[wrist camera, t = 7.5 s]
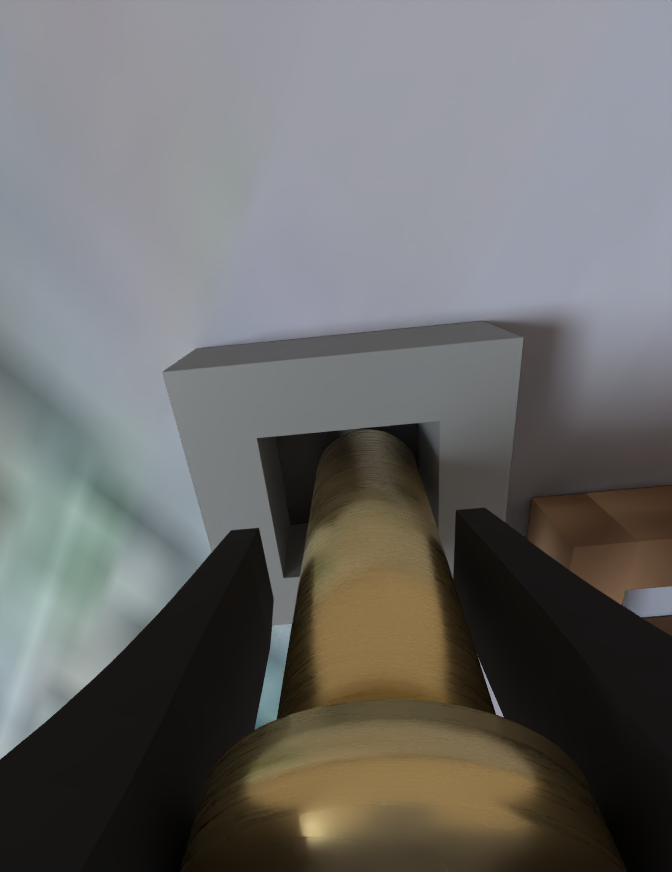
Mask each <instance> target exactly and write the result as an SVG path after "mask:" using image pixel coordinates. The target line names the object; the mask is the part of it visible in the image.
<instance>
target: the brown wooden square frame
mask: <svg viewBox="0 0 672 872" xmlns="http://www.w3.org/2000/svg"><path fill="white" fill-rule="evenodd" d="M527 540H529V541H530V542H531V543H533V544H534V545H535V546H537V547H538V548H540V549H541V550H542V551H544V552H545V553H546V554H548V555H549V556H550V557H552V558H553V559H555V560H556V561H557V562H559V563H560V564H562V565H563V566H564V567H566V568H567V569H569V570H570V571H571V572H573V573H574V574H576V575H577V576H579V577H580V578H581V579H583V580H584V581H586V582H587V583H589V584H590V585H592V586H593V587H595V588H596V589H598V590H599V591H601V592H602V593H604V594H605V595H607V596H608V597H610V598H612V599H613V600H615V601H616V602H618V603H619V604H621V605H622V602H623V599H624V595H625V591H626V590H632V589H644V588H656V587H667V586H672V485H671V486H660V487H649V488H638V489H627V490H616V491H605V492H594V493H583V494H571V495H560V496H549V497H538V498H532V501H531V509H530V516H529V524H528V532H527ZM643 619H644V620H646V621H648V622H649V623H651V624H653V625H654V626H656V627H657V628H659V629H661V630H662V631H664V632H666V633H668V634H669V635H671V636H672V616H665V617H653V618H643Z"/></svg>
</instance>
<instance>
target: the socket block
mask: <svg viewBox="0 0 672 872" xmlns="http://www.w3.org/2000/svg"><path fill="white" fill-rule="evenodd" d="M523 339H524V337H522V336H519V335H517V334H514V333H512V332H509V331H507V330H504V329H502V328H499V327H497V326H494V325H492V324H489V323H487V322H484V321H476V322H466V323H455V324H445V325H435V326H425V327H414V328H404V329H394V330H384V331H373V332H363V333H353V334H343V335H332V336H322V337H312V338H302V339H291V340H281V341H271V342H261V343H250V344H240V345H230V346H220V347H209V348H199V349H195V350H193V351H192V352H191V353H189V354H188V355H186V356H185V357H183V358H182V359H180V360H179V361H178V362H176V363H175V364H173V365H172V366H170V367H169V368H168V369H166V370H165V371H163V372H162V373H163V377H164V380H165V384H166V387H167V391H168V395H169V398H170V402H171V406H172V409H173V413H174V416H175V420H176V424H177V427H178V431H179V435H180V438H181V442H182V445H183V449H184V453H185V456H186V460H187V464H188V467H189V471H190V474H191V478H192V482H193V485H194V489H195V493H196V496H197V500H198V503H199V507H200V511H201V514H202V518H203V522H204V525H205V529H206V532H207V536H208V540H209V543H210V547H211V551H212V552H213V550H214V549H215V548H216V547H217V546H218V544H219V543H220V542H221V541H222V540H223V539H224V538H225V537H226V535H227V534H228V533H229V532H230V531H231V530H239V529H250V528H259V530H260V535H261V540H262V545H263V549H264V554H265V559H266V564H267V568H268V573H269V578H270V583H271V588H272V592H273V597H274V604H273V618H272V625H282V624H292V622H293V616H294V610H295V603H296V597H297V591H298V585H299V579H300V572H301V566H302V560H303V554H304V548H305V541H306V535H307V529H308V523H304V524H293V525H290V519H289V513H288V507H287V501H286V495H285V489H284V483H283V478H282V472H281V466H280V460H279V454H278V448H277V442H276V436H285V435H295V434H306V433H317V432H327V431H338V430H349V429H359V428H370V427H381V426H391V425H402V424H413V423H418V445H419V472H420V476H421V479H422V482H423V485H424V488H425V491H426V495H427V498H428V501H429V504H430V507H431V510H432V514H433V517H434V520H435V523H436V526H437V529H438V533H439V536H440V539H441V542H442V545H443V548H444V552H445V555H446V558H447V561H448V564H449V567H450V571H451V574H452V577H453V572H454V545H455V517H456V510H462V509H473V508H484V507H485V508H486V509H487V510H489V511H490V512H492V513H493V514H494V515H496V516H497V517H498V518H500V519H501V520H502V521H504V522H505V521H506V511H507V500H508V490H509V480H510V470H511V460H512V450H513V440H514V430H515V419H516V409H517V399H518V389H519V379H520V369H521V359H522V349H523Z"/></svg>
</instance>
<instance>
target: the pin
mask: <svg viewBox="0 0 672 872" xmlns="http://www.w3.org/2000/svg"><path fill="white" fill-rule="evenodd" d="M180 872H627V869H626V867H625V865H624V863H623V860H622V858H621V856H620V854H619V851H618V849H617V847H616V845H615V843H614V840H613V838H612V836H611V834H610V831H609V829H608V827H607V825H606V823H605V820H604V818H603V816H602V814H601V811H600V809H599V807H598V805H597V802H596V800H595V798H594V796H593V794H592V791H591V789H590V787H589V785H588V782H587V780H586V778H585V776H584V774H583V773H582V771H581V770H580V769H579V767H578V766H577V764H576V763H575V761H573V760H572V759H571V758H570V757H569V756H568V755H567V754H566V753H565V752H564V751H563V750H562V749H561V748H560V747H558V746H557V745H556V744H554V743H553V742H551V741H550V740H548V739H547V738H546V737H544V736H543V735H541V734H539V733H537V732H535V731H533V730H531V729H529V728H527V727H525V726H524V725H522V724H519V723H517V722H514V721H511V720H509V719H506V718H503V717H501V716H498V715H496V713H495V710H494V707H493V704H492V701H491V697H490V694H489V691H488V688H487V685H486V682H485V678H484V675H483V672H482V669H481V666H480V663H479V659H478V656H477V653H476V650H475V647H474V643H473V640H472V637H471V634H470V631H469V628H468V624H467V621H466V618H465V615H464V612H463V609H462V605H461V602H460V599H459V596H458V593H457V590H456V586H455V583H454V580H453V577H452V574H451V571H450V567H449V564H448V561H447V558H446V555H445V552H444V548H443V545H442V542H441V539H440V536H439V533H438V529H437V526H436V523H435V520H434V517H433V514H432V510H431V507H430V504H429V501H428V498H427V495H426V491H425V488H424V485H423V482H422V479H421V476H420V472H419V469H418V466H417V463H416V460H415V457H414V455H413V453H412V452H411V450H410V449H409V448H408V447H407V445H406V444H405V443H404V442H402V441H401V440H400V439H398V438H397V437H395V436H393V435H391V434H389V433H386V432H383V431H378V430H370V429H368V430H357V431H353V432H349V433H347V434H345V435H342V436H341V437H339V438H337V439H336V440H334V441H333V442H332V443H331V444H330V445H329V446H328V447H327V448H326V449H325V451H324V452H323V454H322V456H321V458H320V460H319V463H318V467H317V473H316V479H315V486H314V492H313V498H312V504H311V510H310V517H309V523H308V529H307V535H306V541H305V548H304V554H303V560H302V566H301V572H300V579H299V585H298V591H297V597H296V603H295V610H294V616H293V622H292V628H291V634H290V641H289V647H288V653H287V659H286V665H285V672H284V678H283V684H282V690H281V696H280V703H279V709H278V715H277V720H275V721H272V722H270V723H267V724H265V725H263V726H261V727H260V728H258V729H256V730H254V731H252V732H250V733H248V734H247V735H245V736H244V737H242V738H241V739H240V740H238V741H237V742H235V743H234V744H233V745H231V746H230V747H229V748H228V749H227V750H226V751H225V752H224V753H223V754H222V755H221V756H220V757H219V758H218V759H217V761H216V762H215V764H214V765H213V767H212V768H211V770H210V771H209V773H208V775H207V778H206V781H205V783H204V786H203V789H202V793H201V797H200V800H199V804H198V807H197V811H196V814H195V818H194V822H193V825H192V829H191V832H190V836H189V839H188V843H187V847H186V850H185V854H184V857H183V861H182V864H181V868H180Z"/></svg>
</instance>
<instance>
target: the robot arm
mask: <svg viewBox="0 0 672 872" xmlns="http://www.w3.org/2000/svg"><path fill="white" fill-rule="evenodd" d="M453 580H454V583H455V586H456V590H457V593H458V596H459V599H460V602H461V605H462V609H463V612H464V615H465V618H466V621H467V624H468V628H469V631H470V634H471V637H472V640H473V643H474V647H475V650H476V653H477V655H478V658H479V660H480V662H481V665H482V667H483V669H484V672H485V674H486V676H487V679H488V681H489V683H490V686H491V688H492V690H493V693H494V695H495V697H496V700H497V702H498V704H499V707H500V709H501V711H502V714H503V716H504V718H506V719H509V720H511V721H514V722H517V723H519V724H522V725H524V726H525V727H527V728H529V729H531V730H533V731H535V732H537V733H539V734H541V735H543V736H544V737H546V738H547V739H548V740H550V741H551V742H553V743H554V744H556V745H557V746H558V747H560V748H561V749H562V750H563V751H564V752H565V753H566V754H567V755H568V756H569V757H570V758H571V759H572V760H573V761H575V763H576V764H577V766H578V767H579V769H580V770H581V771H582V773H583V774H584V776H585V778H586V780H587V782H588V785H589V787H590V789H591V791H592V794H593V796H594V798H595V800H596V802H597V805H598V807H599V809H600V811H601V814H602V816H603V818H604V820H605V823H606V825H607V827H608V829H609V831H610V834H611V836H612V838H613V840H614V843H615V845H616V847H617V849H618V851H619V854H620V856H621V858H622V860H623V863H624V865H625V867H626V869H627V872H672V636H671V635H669V634H668V633H666V632H664V631H662V630H661V629H659V628H657V627H656V626H654V625H653V624H651V623H649V622H648V621H646V620H644V619H643V618H641V617H639V616H638V615H636V614H635V613H633V612H632V611H630V610H628V609H627V608H625V607H624V606H622V605H621V604H619V603H618V602H616V601H615V600H613V599H612V598H610V597H608V596H607V595H605V594H604V593H602V592H601V591H599V590H598V589H596V588H595V587H593V586H592V585H590V584H589V583H587V582H586V581H584V580H583V579H581V578H580V577H579V576H577V575H576V574H574V573H573V572H571V571H570V570H569V569H567V568H566V567H564V566H563V565H562V564H560V563H559V562H557V561H556V560H555V559H553V558H552V557H550V556H549V555H548V554H546V553H545V552H544V551H542V550H541V549H540V548H538V547H537V546H535V545H534V544H533V543H531V542H530V541H529V540H527V539H526V538H525V537H523V536H522V535H521V534H519V533H518V532H517V531H516V530H514V529H513V528H512V527H510V526H509V525H508V524H506V523H505V522H504V521H502V520H501V519H500V518H498V517H497V516H496V515H494V514H493V513H492V512H490V511H489V510H487V509H486V508H485V507H484V508H473V509H462V510H456V517H455V545H454V572H453ZM273 604H274V597H273V592H272V588H271V583H270V578H269V573H268V568H267V564H266V559H265V554H264V549H263V545H262V540H261V535H260V530H259V528H250V529H239V530H231V531H230V532H229V533H228V534H227V535H226V537H225V538H224V539H223V540H222V541H221V542H220V543H219V544H218V546H217V547H216V548H215V549H214V550H213V552H212V553H211V554H210V555H209V556H208V558H207V559H206V560H205V561H204V562H203V563H202V565H201V566H200V567H199V568H198V569H197V571H196V572H195V573H194V574H193V575H192V576H191V578H190V579H189V580H188V581H187V582H186V583H185V584H184V586H183V587H182V588H181V589H180V590H179V591H178V592H177V593H176V595H175V596H174V597H173V598H172V599H171V600H170V601H169V603H168V604H167V605H166V606H165V607H164V608H163V609H162V610H161V611H160V613H159V614H158V615H157V616H156V617H155V618H154V619H153V620H152V621H151V622H150V623H149V624H148V625H147V626H146V627H145V628H144V629H143V630H142V631H141V632H140V633H139V634H138V636H137V637H136V638H135V639H134V640H133V641H132V642H131V643H130V644H129V645H128V646H127V647H126V648H125V649H124V650H123V651H122V652H121V653H120V654H119V655H118V656H117V657H116V658H115V659H114V660H113V661H112V662H111V663H110V664H109V665H108V666H107V667H106V668H105V669H104V670H103V671H102V672H100V673H99V674H98V675H97V676H96V677H95V678H94V679H93V680H92V681H91V682H90V683H89V684H88V685H86V686H85V687H84V688H83V689H82V690H81V691H80V692H79V693H78V694H77V695H75V696H74V697H73V698H72V699H71V700H70V701H69V702H68V703H67V704H66V705H64V706H63V707H62V708H61V709H60V710H59V711H58V712H57V713H55V714H54V715H53V716H52V717H51V718H50V719H49V720H47V721H46V722H45V723H44V724H43V725H42V726H40V727H39V728H38V729H37V730H36V731H34V732H33V733H32V734H31V735H29V736H28V737H27V738H26V739H25V740H23V741H22V742H21V743H20V744H19V745H17V746H16V747H15V748H14V749H13V750H11V751H10V752H9V753H8V754H7V755H5V756H4V757H3V758H2V759H0V872H180V868H181V864H182V861H183V857H184V854H185V850H186V847H187V843H188V839H189V836H190V832H191V829H192V825H193V822H194V818H195V814H196V811H197V807H198V804H199V800H200V797H201V793H202V789H203V786H204V783H205V781H206V778H207V775H208V773H209V771H210V770H211V768H212V767H213V765H214V764H215V762H216V761H217V759H218V758H219V757H220V756H221V755H222V754H223V753H224V752H225V751H226V750H227V749H228V748H229V747H230V746H231V745H233V744H234V743H235V742H237V741H238V740H240V739H241V738H242V737H244V736H245V735H247V734H248V733H250V732H252V731H254V729H255V724H256V718H257V713H258V708H259V703H260V698H261V693H262V687H263V682H264V677H265V672H266V666H267V661H268V655H269V650H270V642H271V631H272V618H273Z"/></svg>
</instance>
